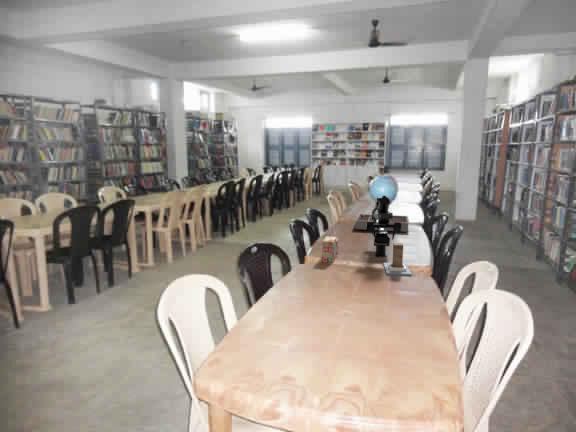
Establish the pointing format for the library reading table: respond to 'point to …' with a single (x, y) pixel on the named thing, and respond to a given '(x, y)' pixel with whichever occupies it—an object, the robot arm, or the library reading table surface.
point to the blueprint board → (397, 270)
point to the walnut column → (397, 255)
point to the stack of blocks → (330, 249)
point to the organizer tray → (404, 221)
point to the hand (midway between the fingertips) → (384, 239)
